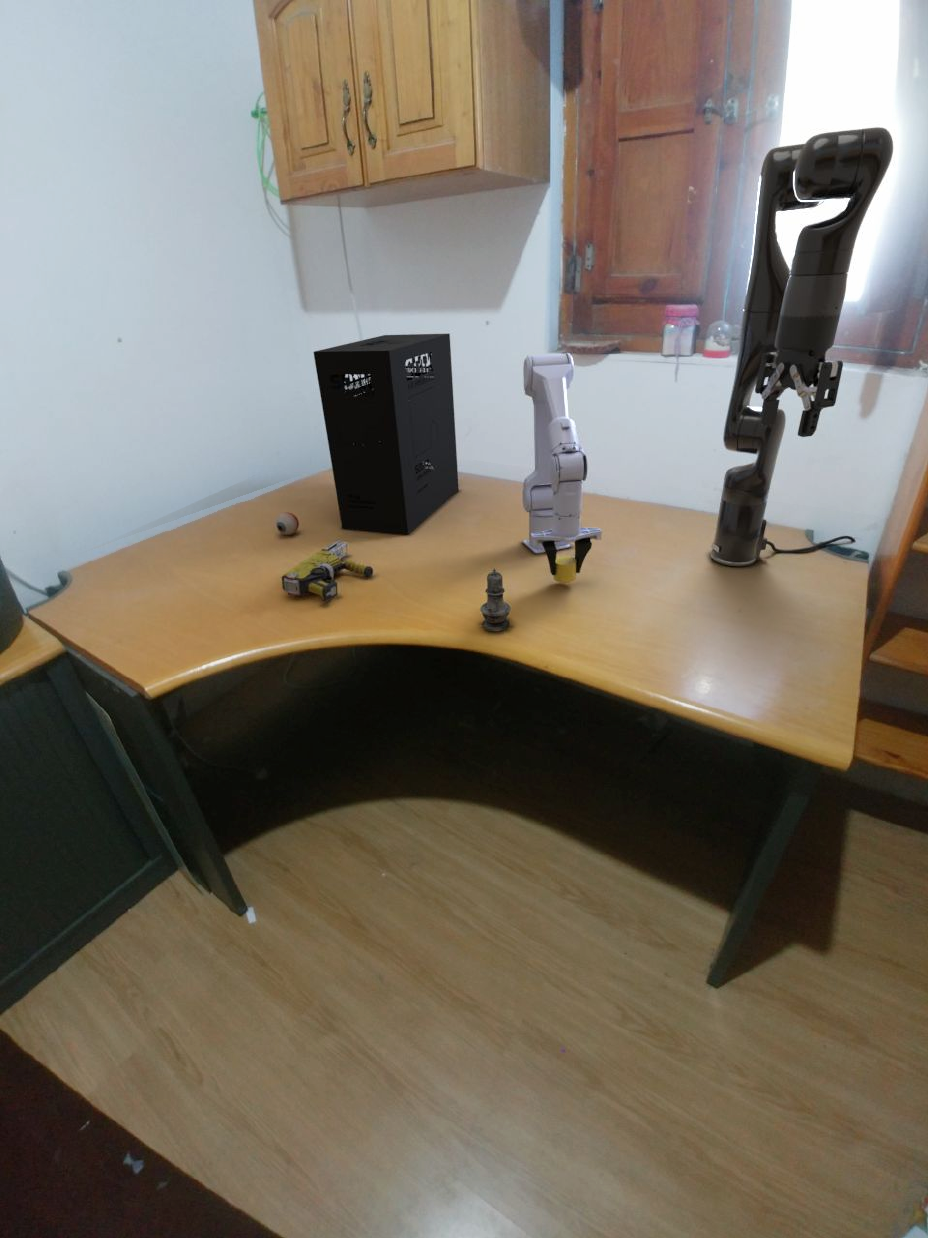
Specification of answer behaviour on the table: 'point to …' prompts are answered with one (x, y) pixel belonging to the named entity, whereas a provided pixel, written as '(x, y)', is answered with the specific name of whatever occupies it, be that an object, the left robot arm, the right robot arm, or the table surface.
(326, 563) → the toy gun
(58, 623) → the table surface
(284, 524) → the eyeball
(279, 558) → the table surface
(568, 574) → the tin
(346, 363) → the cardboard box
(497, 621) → the grey tall turned piece
